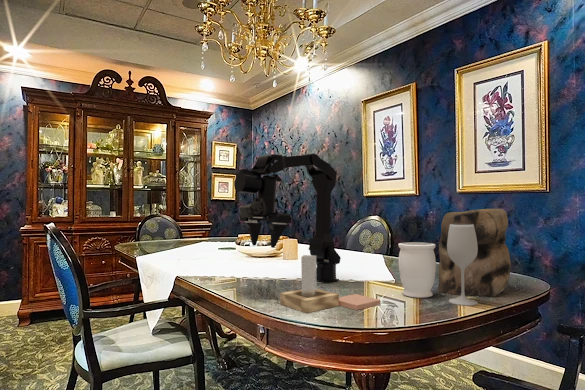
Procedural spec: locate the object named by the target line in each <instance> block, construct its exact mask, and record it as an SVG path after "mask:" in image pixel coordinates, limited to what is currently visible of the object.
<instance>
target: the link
mask: <svg viewBox="0 0 585 390" xmlns="http://www.w3.org/2000/svg"><path fill="white" fill-rule="evenodd" d="M300 259H301V260H300V261H301V262H300V263H301V289H302V297H305V298H311V297H316V296H317V289H318V287H317V286H318V285H317V283H318V281H317V278H316V268H317V262H316V255H311V254H310V255H308V254H304V255H302V256H301V258H300Z"/></svg>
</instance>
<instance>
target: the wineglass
mask: <svg viewBox="0 0 585 390" xmlns="http://www.w3.org/2000/svg"><path fill="white" fill-rule="evenodd" d="M447 252H448V255H449V257H450V258H451V260H452V261H453V262H454V263H455V264H456V265H458V266H459V267H460V269H461V290H462V292H461V295H459V297H458V298H457V297H455V298H450V299H449V300H448V302H449V304H453V305H457V306H462V307H463V306H467V307H470V306H471V307H472V306H477V305H478V304H479V302H478V301H476V300H475V299H470V298H468V297H467V295H465V293H464V270H465V268H466V267H467V266H468V265H469V264H470V263H472V262H473V261H474V259H475V258H476V256H477V252H478V246H477V238H476V233H475V228H474V225H473V224H450V227H449V232H448V240H447Z"/></svg>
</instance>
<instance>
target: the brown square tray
mask: <svg viewBox="0 0 585 390" xmlns="http://www.w3.org/2000/svg"><path fill="white" fill-rule="evenodd" d="M339 295H340V294H339V293H334V292H331V291H327V290H323V289H319V288H317V296H316V297H311V298H305V297H302V288H301V289H297V290H290V291H283V292H280V305H282V306H284V307H287V308H290V309H293V310H297V311H299V312H302V313H305V314H308V313H313V312H317V311H318V312H319V311H322V310H325V309H326V308H327V309H330V308H335V307H339V306H340V305H339V297H340V296H339Z"/></svg>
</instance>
